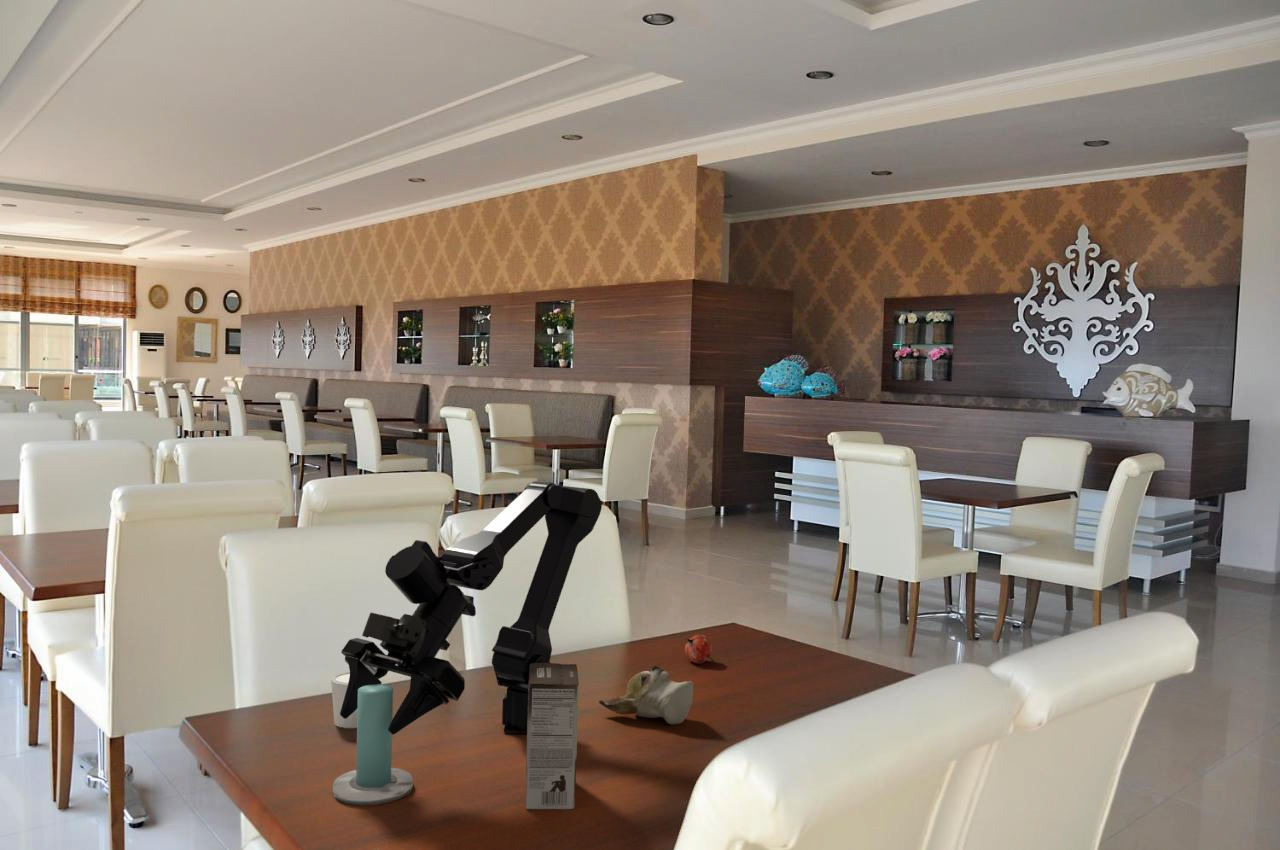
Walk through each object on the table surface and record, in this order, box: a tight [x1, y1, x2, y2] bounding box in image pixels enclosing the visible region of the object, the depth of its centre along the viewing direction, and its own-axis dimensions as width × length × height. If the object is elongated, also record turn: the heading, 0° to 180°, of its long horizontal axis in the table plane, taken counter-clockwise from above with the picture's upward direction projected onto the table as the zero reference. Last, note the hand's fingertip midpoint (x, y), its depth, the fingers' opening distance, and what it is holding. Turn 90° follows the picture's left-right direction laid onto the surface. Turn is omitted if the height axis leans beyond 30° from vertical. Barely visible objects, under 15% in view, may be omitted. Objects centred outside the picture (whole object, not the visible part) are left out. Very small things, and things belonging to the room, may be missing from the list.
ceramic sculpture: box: [598, 665, 694, 725], centre depth 159 cm, size 11×9×15 cm
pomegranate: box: [684, 634, 714, 665], centre depth 192 cm, size 6×6×8 cm
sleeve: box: [355, 683, 394, 788], centre depth 127 cm, size 4×4×12 cm
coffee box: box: [525, 662, 580, 810], centre depth 127 cm, size 9×6×16 cm
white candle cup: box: [330, 671, 358, 729], centre depth 153 cm, size 7×7×7 cm
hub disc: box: [332, 766, 414, 806], centre depth 128 cm, size 10×10×1 cm
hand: (366, 724), depth 126 cm, fingers open, 9 cm apart
